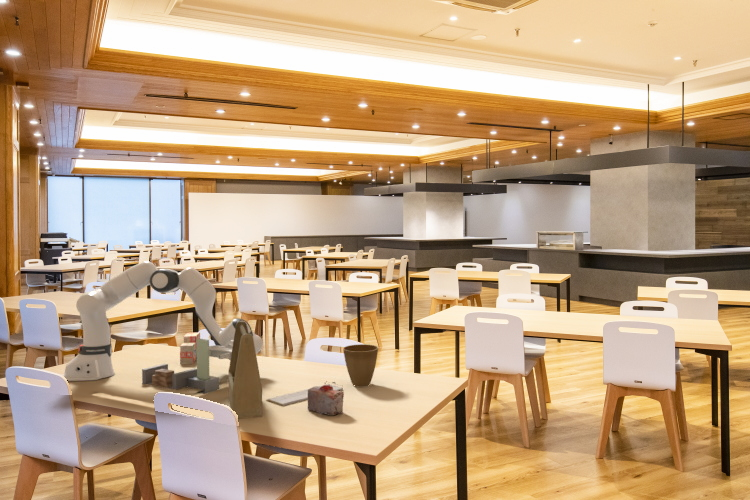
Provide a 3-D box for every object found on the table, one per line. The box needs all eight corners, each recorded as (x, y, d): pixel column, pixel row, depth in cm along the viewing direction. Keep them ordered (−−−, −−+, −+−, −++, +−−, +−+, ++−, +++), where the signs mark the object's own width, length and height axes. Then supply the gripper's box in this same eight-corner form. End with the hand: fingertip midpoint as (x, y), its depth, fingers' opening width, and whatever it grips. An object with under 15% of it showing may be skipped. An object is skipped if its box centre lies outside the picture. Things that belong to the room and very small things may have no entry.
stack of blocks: (192, 364, 296) (192, 339, 295) (179, 364, 295) (179, 339, 295) (200, 355, 317) (200, 331, 317) (188, 355, 316) (187, 332, 316)
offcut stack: (176, 385, 250) (176, 370, 250) (167, 387, 246) (166, 373, 246) (161, 382, 254) (160, 368, 254) (151, 384, 250) (151, 370, 250)
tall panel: (209, 387, 247) (209, 339, 246) (206, 388, 246) (206, 340, 245) (199, 386, 250) (199, 338, 249) (197, 387, 249) (196, 339, 248)
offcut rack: (198, 386, 253) (198, 368, 253) (176, 393, 243) (175, 374, 243) (164, 380, 263) (164, 363, 263) (142, 386, 253) (142, 369, 252)
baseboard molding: (263, 401, 234) (282, 408, 225) (263, 393, 234) (282, 400, 225) (324, 386, 256) (343, 391, 248) (324, 379, 256) (343, 384, 248)
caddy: (262, 416, 213) (262, 332, 212) (232, 419, 210) (231, 334, 209) (255, 394, 241) (254, 320, 240) (227, 397, 238) (227, 321, 237)
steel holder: (219, 389, 249) (219, 377, 249) (205, 393, 242) (205, 381, 242) (201, 386, 254) (201, 374, 254) (187, 390, 247) (187, 378, 247)
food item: (347, 412, 218) (347, 385, 217) (333, 418, 211) (333, 390, 211) (318, 406, 225) (318, 380, 225) (304, 411, 219) (304, 384, 219)
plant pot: (357, 378, 267) (357, 342, 266) (384, 383, 258) (384, 346, 257) (336, 385, 254) (336, 348, 254) (364, 391, 246) (364, 352, 245)
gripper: (216, 340, 268) (193, 346, 256) (251, 344, 258) (229, 350, 246) (216, 354, 269) (193, 360, 257) (252, 359, 259) (229, 366, 247)
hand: (211, 356), depth 251 cm, fingers open, 8 cm apart
